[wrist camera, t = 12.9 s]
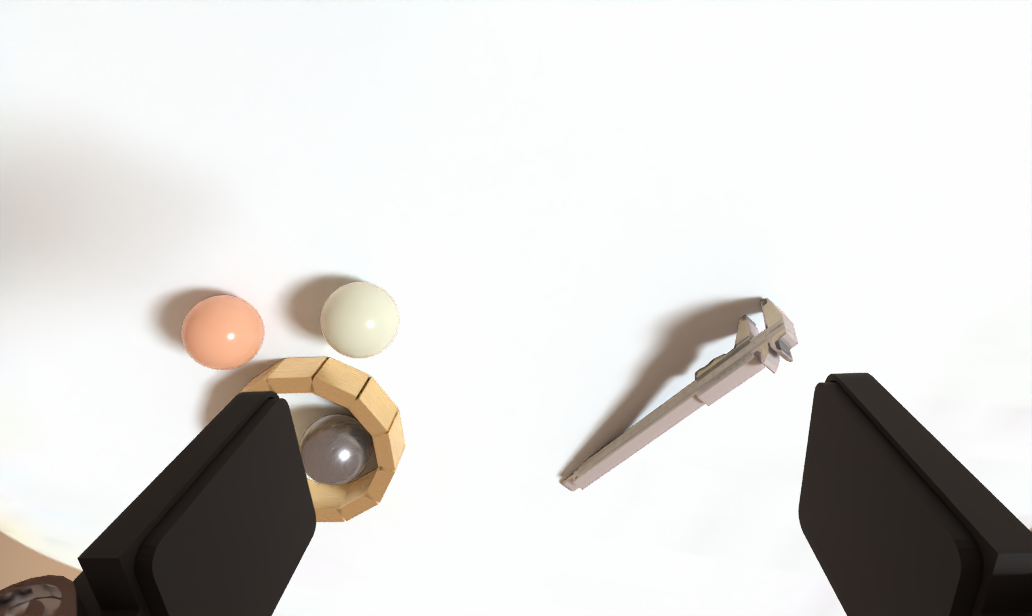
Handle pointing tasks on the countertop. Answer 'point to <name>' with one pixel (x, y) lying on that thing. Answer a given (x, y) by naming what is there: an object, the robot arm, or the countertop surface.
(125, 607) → the robot arm
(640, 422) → the caliper
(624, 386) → the countertop surface
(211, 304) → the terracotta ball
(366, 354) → the cream ball
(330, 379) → the ring
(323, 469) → the steel ball
